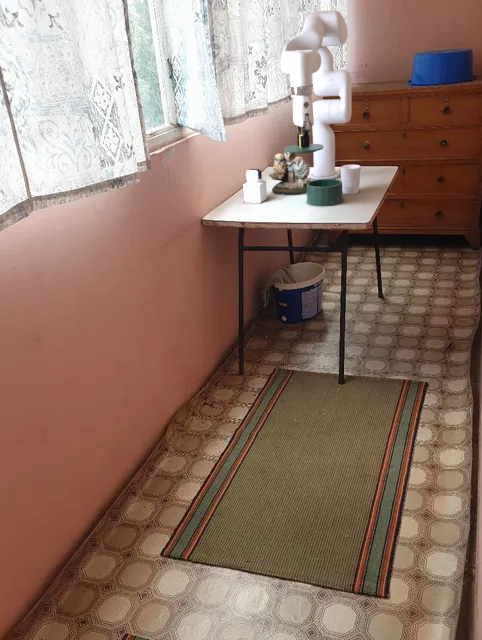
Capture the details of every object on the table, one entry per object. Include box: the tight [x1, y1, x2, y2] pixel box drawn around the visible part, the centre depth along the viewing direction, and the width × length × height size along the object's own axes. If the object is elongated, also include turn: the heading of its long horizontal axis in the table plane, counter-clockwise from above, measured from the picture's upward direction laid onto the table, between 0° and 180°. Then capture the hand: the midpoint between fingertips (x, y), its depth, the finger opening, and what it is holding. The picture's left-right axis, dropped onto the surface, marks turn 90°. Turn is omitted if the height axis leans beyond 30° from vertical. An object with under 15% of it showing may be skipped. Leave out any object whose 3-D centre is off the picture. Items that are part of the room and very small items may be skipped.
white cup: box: [340, 164, 362, 195], centre depth 243 cm, size 8×8×10 cm
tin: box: [306, 178, 344, 207], centre depth 234 cm, size 14×14×7 cm
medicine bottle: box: [242, 168, 268, 204], centre depth 241 cm, size 7×7×12 cm
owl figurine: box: [268, 151, 312, 196], centre depth 249 cm, size 18×12×17 cm, turn 76°
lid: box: [283, 134, 323, 155], centre depth 222 cm, size 15×15×6 cm
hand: (303, 146), depth 223 cm, fingers closed on lid, 3 cm apart
